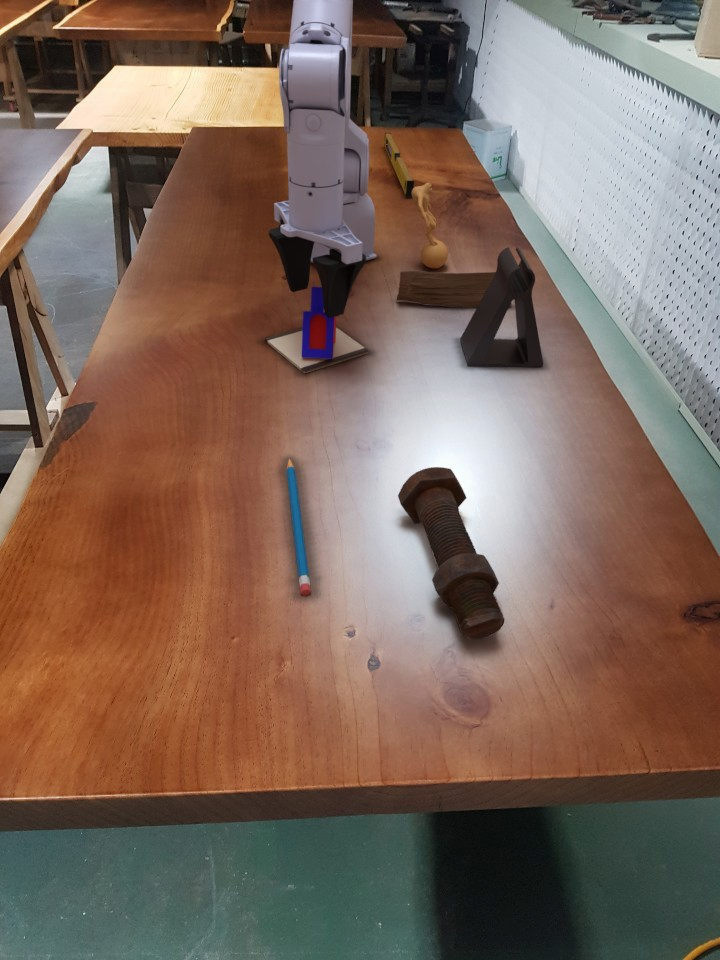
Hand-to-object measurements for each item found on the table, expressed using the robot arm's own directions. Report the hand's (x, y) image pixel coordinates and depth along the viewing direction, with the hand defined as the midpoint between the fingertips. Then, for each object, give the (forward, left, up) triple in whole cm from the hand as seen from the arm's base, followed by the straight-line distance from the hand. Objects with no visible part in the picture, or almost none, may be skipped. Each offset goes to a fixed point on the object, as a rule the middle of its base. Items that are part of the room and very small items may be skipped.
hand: (316, 301), depth 82 cm
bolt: (+11, +37, -6) cm, 39 cm away
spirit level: (-53, -52, -6) cm, 75 cm away
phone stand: (-18, +13, -6) cm, 23 cm away
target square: (0, 0, -6) cm, 6 cm away
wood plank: (-22, 0, -6) cm, 23 cm away
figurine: (-27, -12, -6) cm, 30 cm away
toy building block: (0, +1, -6) cm, 6 cm away
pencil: (+18, +25, -6) cm, 32 cm away
